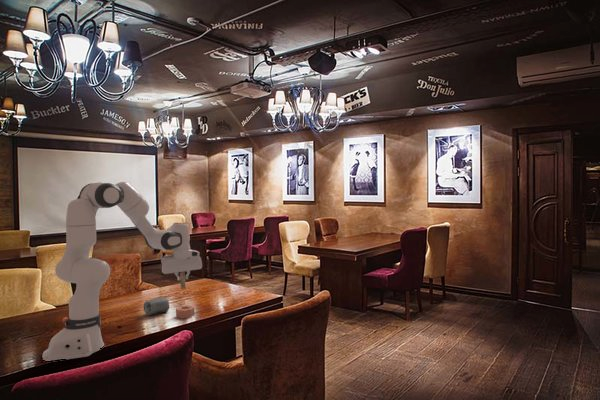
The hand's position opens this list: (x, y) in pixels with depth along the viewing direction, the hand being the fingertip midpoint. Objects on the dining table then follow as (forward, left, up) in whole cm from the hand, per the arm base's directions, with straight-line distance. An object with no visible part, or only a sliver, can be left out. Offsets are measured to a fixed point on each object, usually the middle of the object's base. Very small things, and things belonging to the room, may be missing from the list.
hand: (182, 279), depth 206 cm
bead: (+2, +4, -20) cm, 20 cm away
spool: (-10, +17, -20) cm, 28 cm away
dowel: (0, 0, -5) cm, 5 cm away
